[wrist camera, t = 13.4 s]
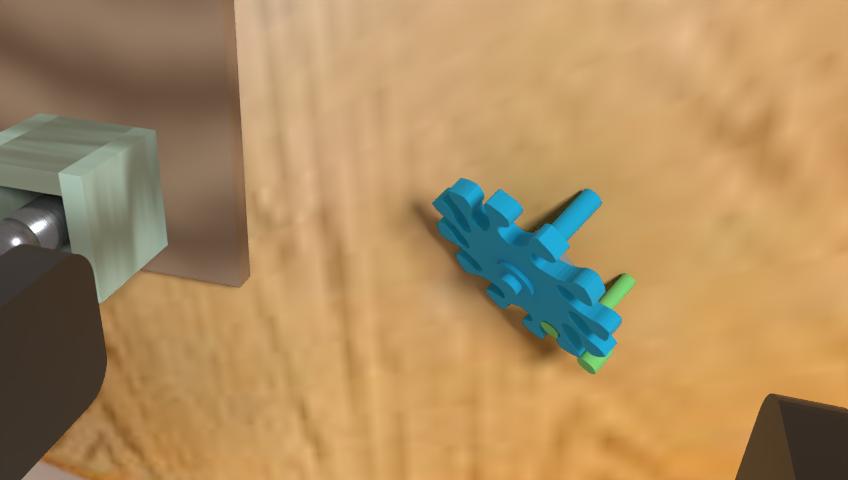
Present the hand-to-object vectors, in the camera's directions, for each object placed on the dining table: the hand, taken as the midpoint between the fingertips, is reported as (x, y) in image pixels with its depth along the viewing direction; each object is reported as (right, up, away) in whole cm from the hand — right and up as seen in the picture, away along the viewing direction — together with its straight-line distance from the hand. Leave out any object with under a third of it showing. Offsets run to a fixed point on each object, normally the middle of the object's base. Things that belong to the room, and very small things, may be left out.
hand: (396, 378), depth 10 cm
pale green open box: (-16, +5, +32) cm, 36 cm away
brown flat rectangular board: (-15, +10, +30) cm, 35 cm away
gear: (+6, +2, +29) cm, 30 cm away
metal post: (-16, +5, +32) cm, 36 cm away
